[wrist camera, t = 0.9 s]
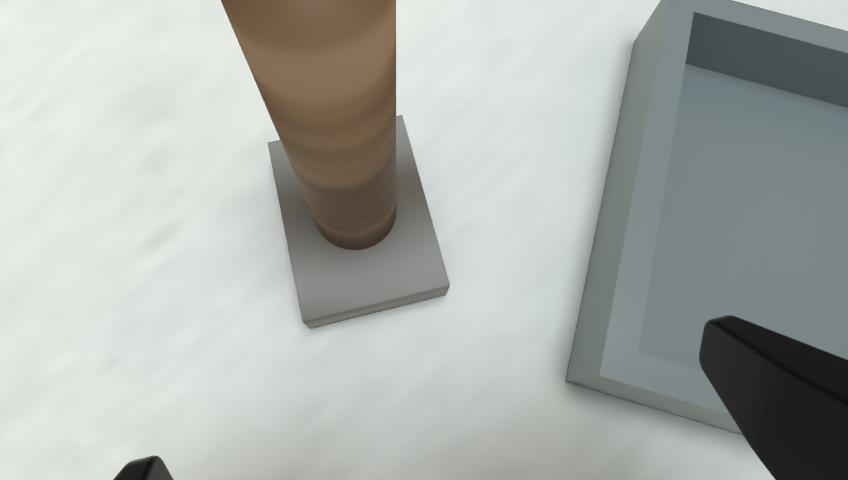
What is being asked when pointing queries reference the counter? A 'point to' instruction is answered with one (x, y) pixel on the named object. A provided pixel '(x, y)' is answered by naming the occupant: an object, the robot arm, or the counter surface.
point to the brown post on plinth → (341, 155)
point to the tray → (718, 202)
